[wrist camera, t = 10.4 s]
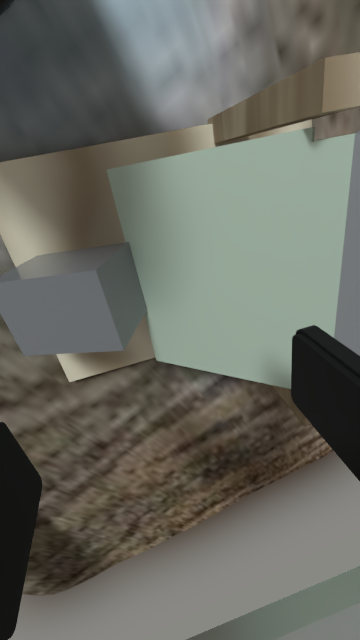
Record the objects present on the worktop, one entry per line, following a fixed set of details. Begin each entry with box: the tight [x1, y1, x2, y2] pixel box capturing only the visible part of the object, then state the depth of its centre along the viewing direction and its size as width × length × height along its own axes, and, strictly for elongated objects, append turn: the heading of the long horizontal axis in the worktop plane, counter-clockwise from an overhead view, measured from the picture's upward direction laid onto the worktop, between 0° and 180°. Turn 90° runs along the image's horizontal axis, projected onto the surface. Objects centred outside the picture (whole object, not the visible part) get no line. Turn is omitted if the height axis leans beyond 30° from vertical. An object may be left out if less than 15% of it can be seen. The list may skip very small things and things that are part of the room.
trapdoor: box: [107, 127, 360, 389], centre depth 18 cm, size 16×14×5 cm
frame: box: [0, 52, 360, 426], centre depth 18 cm, size 23×18×12 cm
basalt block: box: [0, 242, 147, 356], centre depth 19 cm, size 5×5×7 cm
